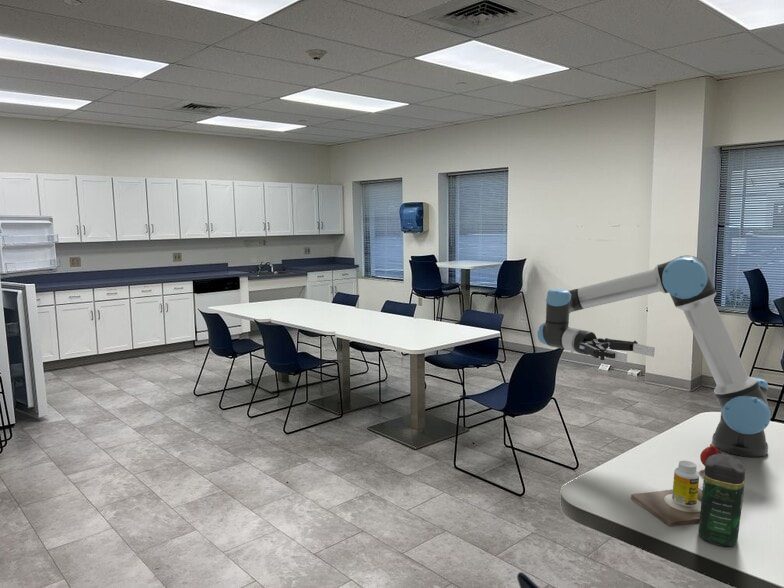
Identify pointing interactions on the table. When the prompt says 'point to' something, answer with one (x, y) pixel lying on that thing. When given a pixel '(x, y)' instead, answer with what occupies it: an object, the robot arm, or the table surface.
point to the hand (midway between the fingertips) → (640, 355)
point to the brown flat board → (669, 507)
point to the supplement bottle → (685, 484)
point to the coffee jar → (721, 499)
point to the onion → (708, 453)
